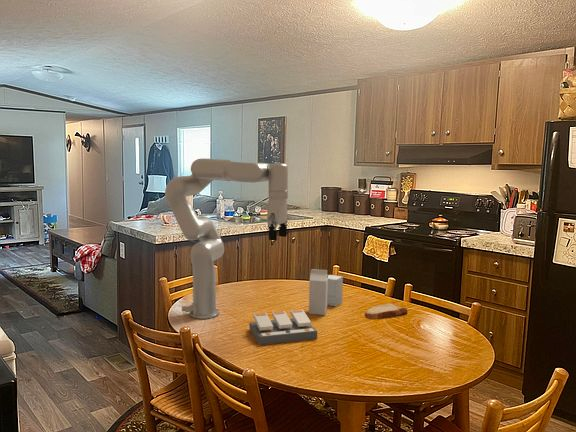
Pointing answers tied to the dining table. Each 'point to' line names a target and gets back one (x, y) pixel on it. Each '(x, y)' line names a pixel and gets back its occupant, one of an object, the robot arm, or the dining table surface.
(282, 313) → the switch middle
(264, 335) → the switch unit
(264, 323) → the switch left
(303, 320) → the switch right
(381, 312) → the slice of bread
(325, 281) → the milk carton
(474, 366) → the dining table surface
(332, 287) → the supplement box
